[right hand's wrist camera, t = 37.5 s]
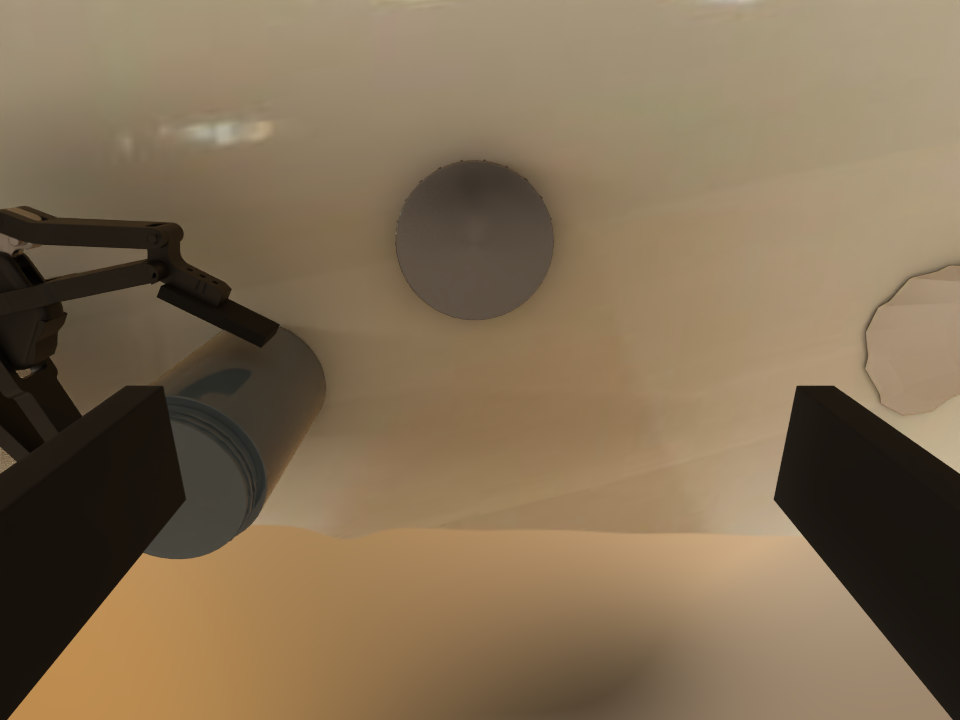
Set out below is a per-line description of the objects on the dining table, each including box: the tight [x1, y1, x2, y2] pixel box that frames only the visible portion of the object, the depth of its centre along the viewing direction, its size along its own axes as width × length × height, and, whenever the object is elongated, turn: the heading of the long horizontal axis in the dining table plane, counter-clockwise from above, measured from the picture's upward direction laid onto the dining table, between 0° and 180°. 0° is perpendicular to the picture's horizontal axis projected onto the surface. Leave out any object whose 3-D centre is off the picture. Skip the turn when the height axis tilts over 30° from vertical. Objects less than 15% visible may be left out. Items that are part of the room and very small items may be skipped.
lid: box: [395, 160, 554, 320], centre depth 40 cm, size 11×11×2 cm
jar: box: [143, 327, 326, 559], centre depth 38 cm, size 10×10×15 cm
